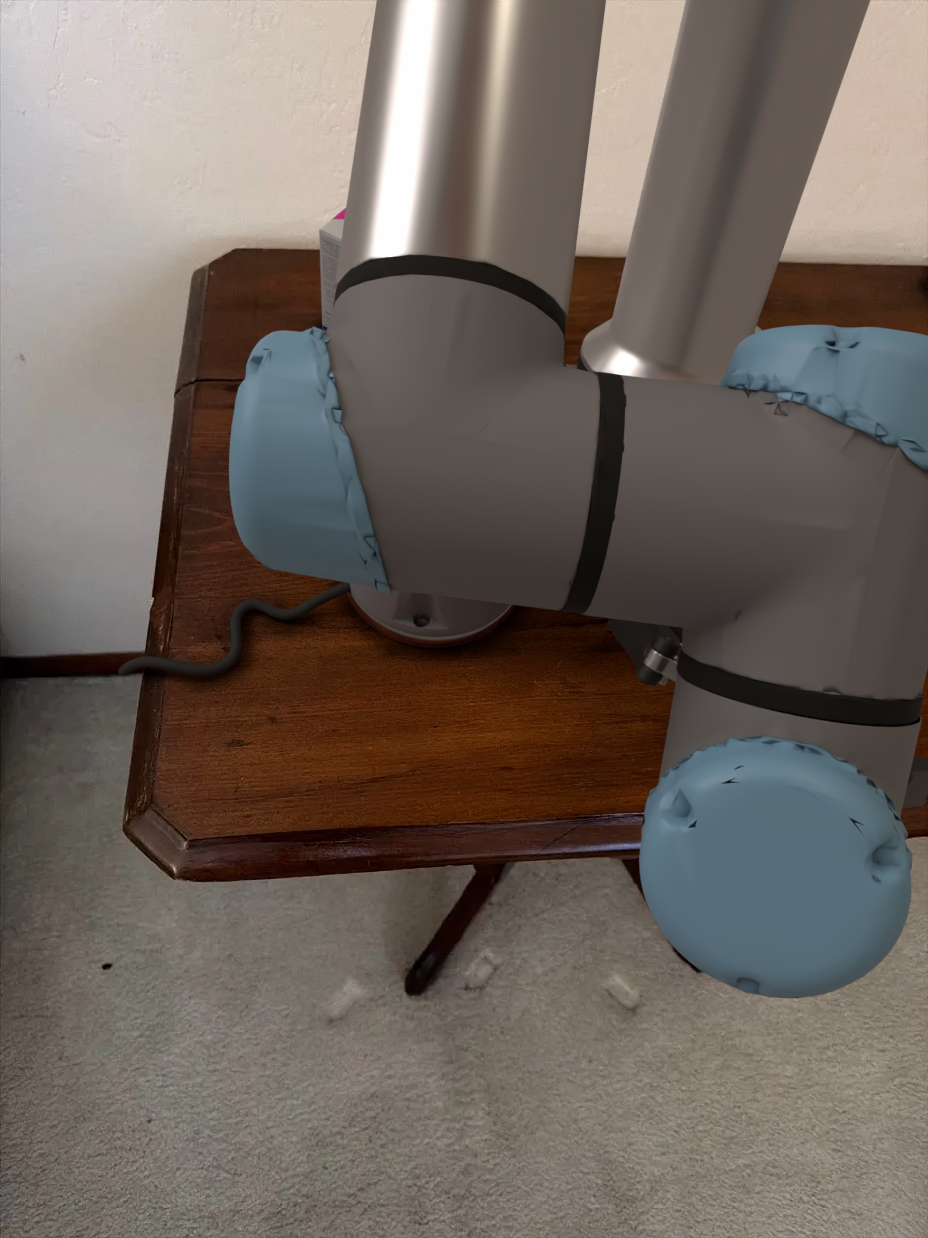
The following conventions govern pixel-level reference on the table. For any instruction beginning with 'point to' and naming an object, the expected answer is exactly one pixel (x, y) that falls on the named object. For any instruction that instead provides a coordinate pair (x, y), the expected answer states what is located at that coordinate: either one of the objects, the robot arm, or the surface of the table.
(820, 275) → the table surface
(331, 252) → the supplement box
